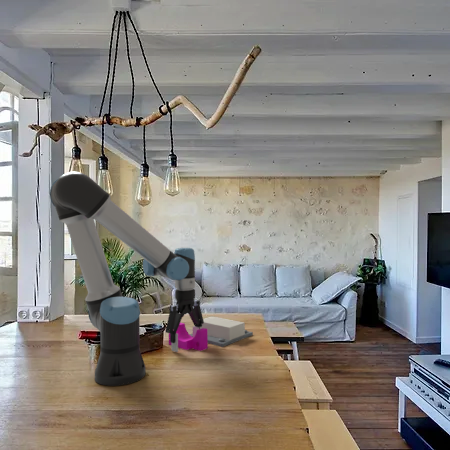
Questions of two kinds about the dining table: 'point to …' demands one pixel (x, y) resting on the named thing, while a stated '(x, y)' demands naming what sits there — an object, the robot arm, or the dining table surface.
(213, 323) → the baseplate
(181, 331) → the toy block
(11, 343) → the dining table surface
